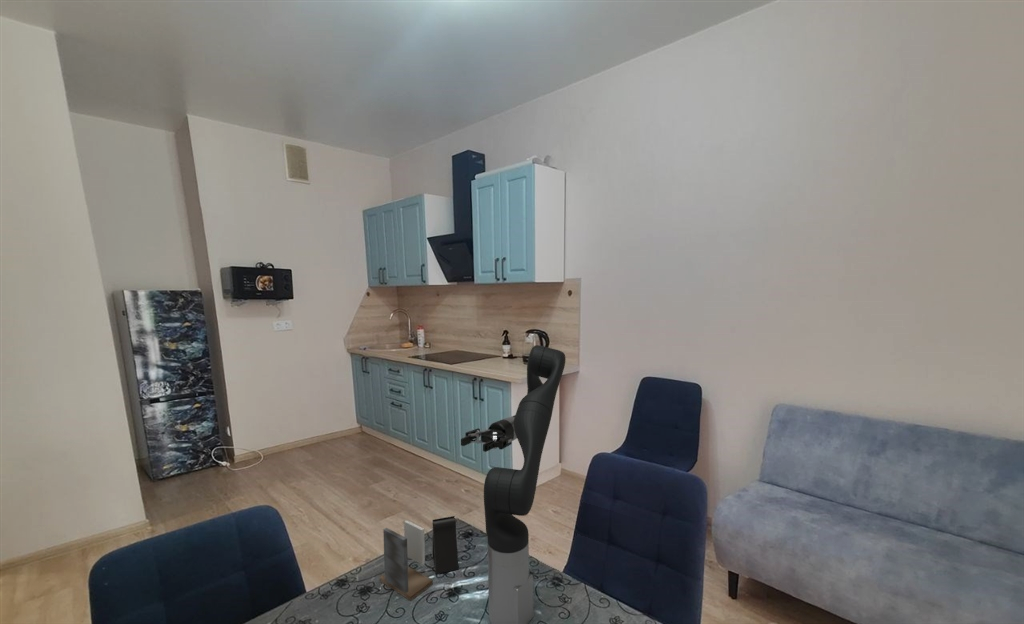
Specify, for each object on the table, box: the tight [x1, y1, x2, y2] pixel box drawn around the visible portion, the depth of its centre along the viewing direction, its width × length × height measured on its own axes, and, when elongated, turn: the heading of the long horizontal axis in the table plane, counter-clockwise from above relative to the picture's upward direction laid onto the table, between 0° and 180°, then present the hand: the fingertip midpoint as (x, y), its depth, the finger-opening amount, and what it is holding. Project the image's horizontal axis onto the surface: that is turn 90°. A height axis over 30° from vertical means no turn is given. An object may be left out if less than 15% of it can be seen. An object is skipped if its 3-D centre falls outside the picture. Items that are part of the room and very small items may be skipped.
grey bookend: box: [379, 527, 434, 602], centre depth 102 cm, size 12×7×14 cm, turn 54°
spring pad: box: [403, 519, 426, 566], centre depth 105 cm, size 9×1×12 cm, turn 54°
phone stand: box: [431, 515, 459, 575], centre depth 110 cm, size 9×6×12 cm, turn 17°
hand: (472, 445), depth 117 cm, fingers open, 8 cm apart
